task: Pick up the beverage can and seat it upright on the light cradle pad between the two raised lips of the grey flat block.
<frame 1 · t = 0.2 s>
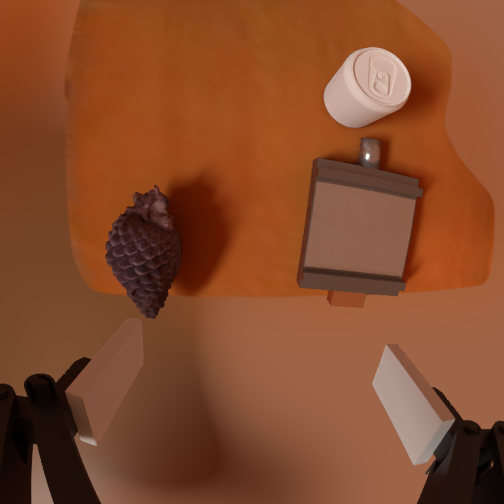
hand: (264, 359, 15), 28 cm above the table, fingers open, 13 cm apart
pine cone: (156, 246, 42), on the table
beverage can: (349, 102, 37), on the table
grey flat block: (356, 228, 41), on the table
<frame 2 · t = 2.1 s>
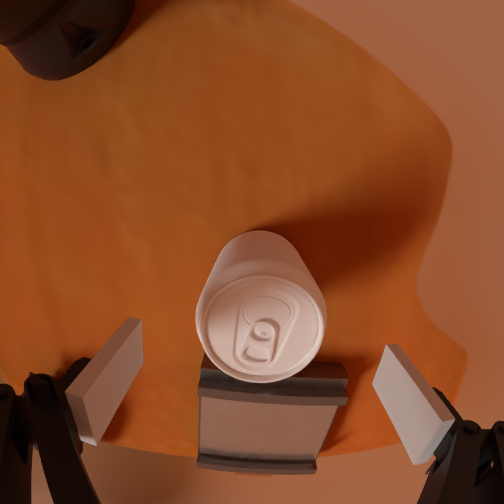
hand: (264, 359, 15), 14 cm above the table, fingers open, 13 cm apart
beverage can: (258, 271, 28), on the table
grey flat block: (264, 414, 32), on the table
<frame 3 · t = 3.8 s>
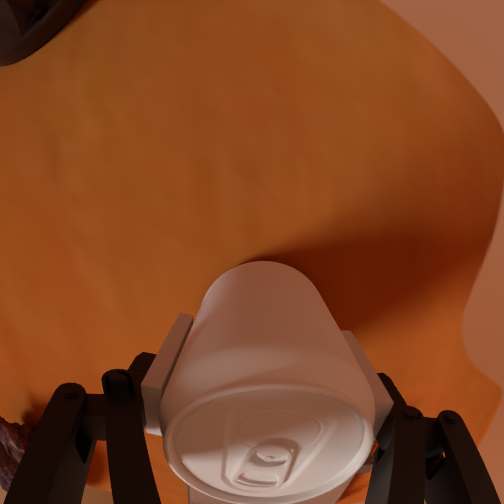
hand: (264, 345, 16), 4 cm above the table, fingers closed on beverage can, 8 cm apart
pine cone: (41, 442, 25), on the table
beverage can: (262, 315, 20), on the table, touching gripper
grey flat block: (267, 473, 24), on the table
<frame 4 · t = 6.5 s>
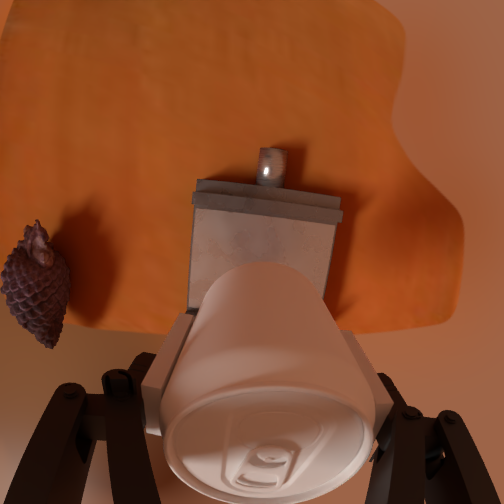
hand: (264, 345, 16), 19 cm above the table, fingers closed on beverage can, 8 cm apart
pine cone: (56, 276, 36), on the table
beverage can: (262, 316, 20), point 15 cm above the table, touching gripper
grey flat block: (259, 260, 35), on the table
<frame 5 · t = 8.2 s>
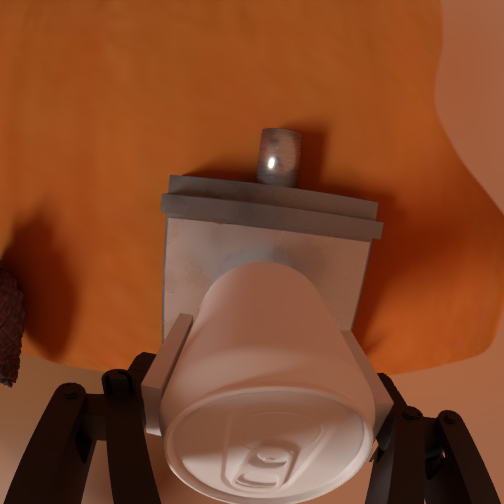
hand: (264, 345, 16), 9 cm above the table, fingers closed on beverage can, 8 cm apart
pine cone: (12, 299, 26), on the table
beverage can: (262, 316, 20), point 5 cm above the table, touching gripper
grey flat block: (260, 289, 25), on the table
when the fingers open (7 cm above the table, at t = 9.5 s): beverage can stays where it is, resting on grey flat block.
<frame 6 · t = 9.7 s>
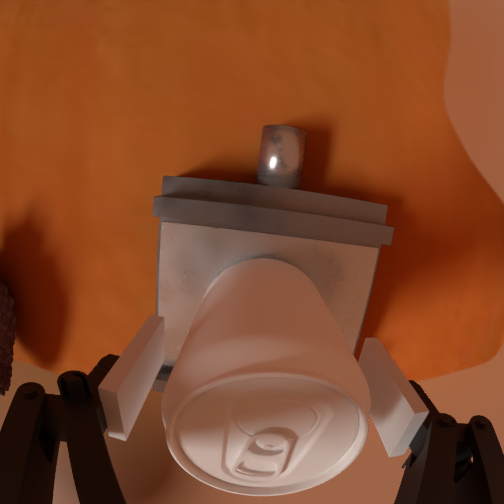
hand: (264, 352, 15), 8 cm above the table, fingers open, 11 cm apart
pine cone: (4, 305, 24), on the table
beverage can: (262, 312, 21), point 3 cm above the table, touching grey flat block
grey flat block: (261, 297, 23), on the table
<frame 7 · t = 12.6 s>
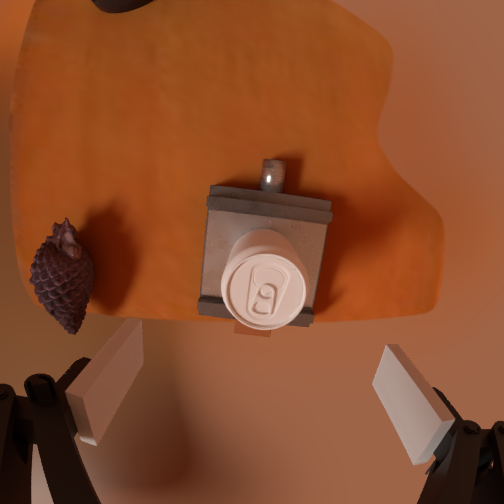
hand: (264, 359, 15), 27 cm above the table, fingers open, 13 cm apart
pine cone: (79, 269, 42), on the table
beverage can: (262, 259, 38), point 3 cm above the table, touching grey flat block
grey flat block: (262, 254, 41), on the table
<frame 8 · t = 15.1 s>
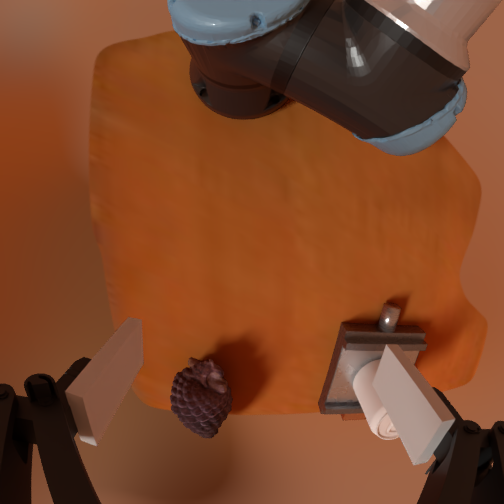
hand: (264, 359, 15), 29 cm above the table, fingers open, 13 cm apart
pine cone: (205, 383, 48), on the table
beverage can: (373, 376, 44), point 3 cm above the table, touching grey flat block
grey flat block: (368, 367, 47), on the table
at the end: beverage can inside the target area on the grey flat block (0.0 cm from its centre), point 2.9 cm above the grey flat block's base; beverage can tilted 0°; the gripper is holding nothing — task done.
